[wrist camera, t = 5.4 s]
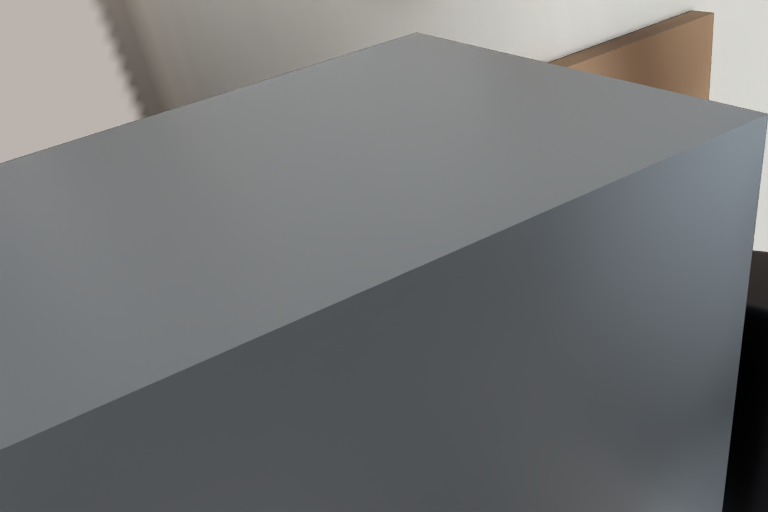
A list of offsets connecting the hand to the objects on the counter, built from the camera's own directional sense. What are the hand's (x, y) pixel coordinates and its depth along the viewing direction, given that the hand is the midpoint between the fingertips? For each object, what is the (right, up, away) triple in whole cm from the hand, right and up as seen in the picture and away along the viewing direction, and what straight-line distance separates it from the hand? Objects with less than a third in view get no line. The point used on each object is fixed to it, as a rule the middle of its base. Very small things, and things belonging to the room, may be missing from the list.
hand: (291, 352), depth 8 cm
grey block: (0, +1, +1) cm, 1 cm away
